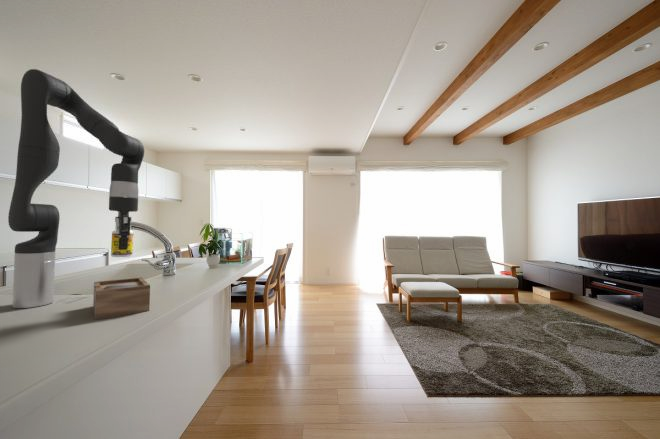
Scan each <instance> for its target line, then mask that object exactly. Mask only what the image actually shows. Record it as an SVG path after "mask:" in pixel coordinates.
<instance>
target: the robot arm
mask: <svg viewBox="0 0 660 439" xmlns="http://www.w3.org/2000/svg"><path fill="white" fill-rule="evenodd" d="M20 103H21V105H20V107H21V119H20V120H21V122H20V133H19V141H18V146H17V156H16V158H17V160H16V174H15V180H14V187H13V192H12V196H11V201H10V205H9V210H8V220H7V222H8V227H9V228H10V229H11V230H12V231H13V232H20V233H21V232H22V233H23V232H24V233H25V232H34V233H35V232H38V234H37V235H36V236H34V237H33V238H31V239H29V240H24V241H22V242H19V243H16V245H15V246H14V260H13V261H14V264H13V279H12V280H13V282H12V300H11V301H12V302H11V303H12V304H11V305H12V306H11V307H12V308H13V309H28V308H35V307H41V306H45V305H49V304H52V303H54V295H55V294H54V293H55V274H56V273H55V268H56V246H57V244H58V236H59V235H58V234H59V227H60V220H61V219H60V212H59V209H58V207H57V206H56V205H54V204H48V203H47V204H45V203H31V202H32V198H33V195H34V194H35V192H36V190H37V188H38V187H40V185H42V183H43V182H44V181H45V180H47V179H48V178H50V176H51V175H52V174H54V172H55V171H56V170H57V169H58V167H59V161H60V153H61V148H60V144H59V140H58V138H57V137H56V135H55V132H54V131H53V128H52V127H51V125H50V122H49V119H48V106H50V107H53V108H54V107H55V108H58V109H60V110H62V111H64V112H66V113H68V114H70V115H72V117H74V118H75V119H76V121H77V123H78V125H80V127H81V128H82V129H84V130H85V131H86V132H87V133H89V134H90V135H91V136H92V137H95V139H97V140H99V142H100V144H101V145H103V147H104V148H105V149H107V150H108V151H109V152H111V153H113V154H115V155H116V156H117V155H118V156H119V157H122V159H121V162H118V163H113V165H112V166H111V170H110V186H109V194H108V196H109V198H108V210H109V211H112V212H117V216H115V218H114V222H115V226H116V225H117V231H119V235H118V236H119V249H120V250H126V249H127V248H128V237H129V235H130V231H131V230H132V226H131V223H132V216H130V213H132V212H135V213H136V212H138V211H139V170H140V168H141V167H142V166H141V165H142V163H143V160H144V156H145V147H144V144H143V143H142V142H141V141H140V140H139V139H138V138H136V137H133V136H130V135H129V134H126V133H125V132H123V131H121V130H120V129H119V127H118V126H117V125H116V124H115V123H114V122H113V121H111V120H110V119H108V118H107V117H106V116H105V115H104V114H101V113H100V112H99V111H97V110H96V109H94V108H93V107H92V106H91V105H90V104H89V103H87V102H86V101H85V100H84V98H82V97H81V96H80V95H79V94H78V93H77V92H76V91H75V90H74V88H72V87H71V86H70V85H69V84H68V83H66V81H63V80H61V79H60V78H57V77H55V76H53V75H51V74H49V73H46V72H44V71H42V70H39V69H37V68H31V69H29V70H27V71H25V72H24V74H23V76H22V79H21V82H20ZM130 229H131V230H130ZM115 230H116V228H115ZM122 231H126V232H122Z"/></svg>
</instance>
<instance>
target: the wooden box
mask: <svg viewBox="0 0 660 439" xmlns="http://www.w3.org/2000/svg"><path fill="white" fill-rule="evenodd" d="M150 296H151V284H149V283H148V282H147V281H146V280H145V279H144V278H143V277H133V278H122V279H112V280H101V281H94V282H93V300H92V301H93V302H92V303H93V304H92V307H93V314H94V320H101V319H107V318H113V317H119V316H125V315H132V314H138V313H143V312H149V311H150V305H151V304H150V303H151V302H150V301H151V300H150V299H151V298H150Z"/></svg>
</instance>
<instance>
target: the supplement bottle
mask: <svg viewBox="0 0 660 439" xmlns="http://www.w3.org/2000/svg"><path fill="white" fill-rule="evenodd" d="M114 227H115V228H116V229H115V230H112V231H111V245H110V246H111V247H110V256H111V257H112V258H129V257H132V256H133V251H134V250H133V248H134V247H133V246H134V231H133V230H132V228H131V229H130V235H129V237H128V248H127V249H126V250H120V249H119V236H118V235H119V231H117V225H116V224H115V226H114ZM122 232H126V231H122Z"/></svg>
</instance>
